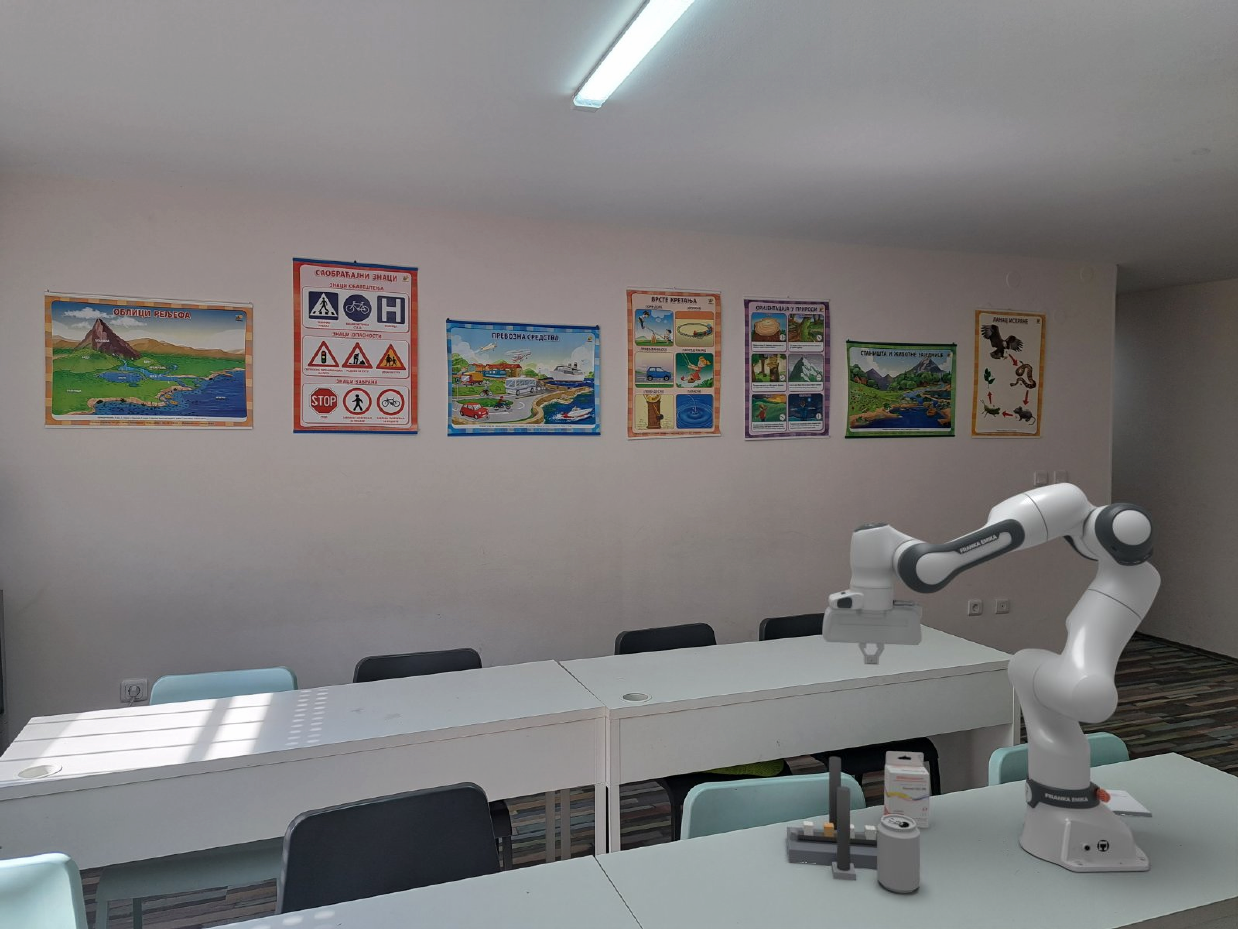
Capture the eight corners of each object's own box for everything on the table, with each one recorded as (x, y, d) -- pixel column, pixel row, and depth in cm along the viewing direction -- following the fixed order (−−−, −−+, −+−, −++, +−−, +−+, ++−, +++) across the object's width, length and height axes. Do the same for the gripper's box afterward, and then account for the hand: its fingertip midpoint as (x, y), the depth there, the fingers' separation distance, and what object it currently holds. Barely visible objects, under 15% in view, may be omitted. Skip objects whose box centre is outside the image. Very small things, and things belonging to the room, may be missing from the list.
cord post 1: (843, 832, 173) (843, 755, 173) (845, 841, 169) (846, 762, 169) (824, 831, 173) (824, 754, 173) (826, 839, 169) (826, 761, 169)
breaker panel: (886, 846, 167) (886, 826, 167) (895, 870, 157) (895, 849, 157) (786, 839, 170) (786, 819, 170) (789, 862, 160) (789, 841, 160)
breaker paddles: (879, 840, 163) (879, 826, 163) (881, 844, 161) (881, 830, 161) (797, 834, 165) (797, 820, 165) (798, 838, 163) (798, 824, 163)
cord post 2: (853, 869, 157) (853, 785, 157) (855, 880, 153) (855, 793, 153) (831, 868, 158) (831, 784, 158) (833, 878, 154) (833, 792, 154)
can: (914, 899, 146) (914, 832, 146) (872, 888, 150) (872, 823, 150) (923, 881, 153) (923, 817, 153) (882, 870, 157) (882, 808, 156)
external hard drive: (1111, 817, 181) (1088, 794, 194) (1151, 820, 180) (1126, 797, 192) (1111, 810, 181) (1088, 788, 194) (1152, 812, 180) (1126, 790, 192)
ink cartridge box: (888, 827, 175) (889, 758, 175) (883, 817, 180) (883, 750, 180) (930, 828, 175) (930, 759, 174) (923, 818, 179) (923, 751, 179)
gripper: (919, 598, 176) (919, 662, 176) (821, 595, 179) (821, 658, 179) (925, 603, 170) (925, 669, 170) (824, 600, 173) (824, 665, 173)
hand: (871, 664), depth 175 cm, fingers closed
